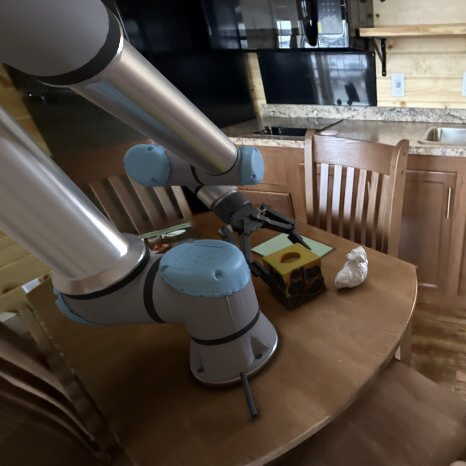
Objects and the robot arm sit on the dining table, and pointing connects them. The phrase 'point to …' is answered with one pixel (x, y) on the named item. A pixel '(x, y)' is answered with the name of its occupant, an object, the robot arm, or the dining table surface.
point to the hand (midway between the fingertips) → (292, 267)
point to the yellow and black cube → (295, 274)
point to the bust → (353, 269)
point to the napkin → (283, 242)
